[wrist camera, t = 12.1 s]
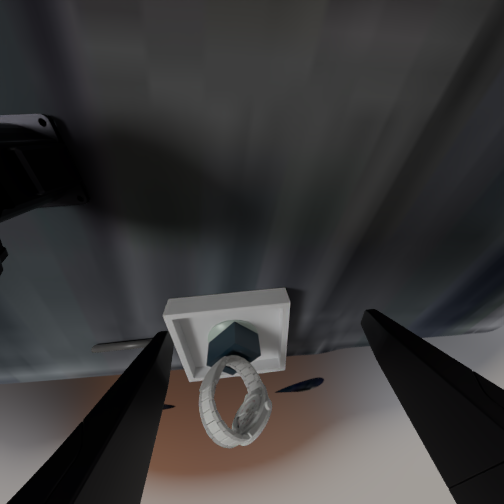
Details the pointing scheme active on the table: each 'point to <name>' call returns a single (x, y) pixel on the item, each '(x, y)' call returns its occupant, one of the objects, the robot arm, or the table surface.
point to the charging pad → (223, 328)
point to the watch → (238, 361)
